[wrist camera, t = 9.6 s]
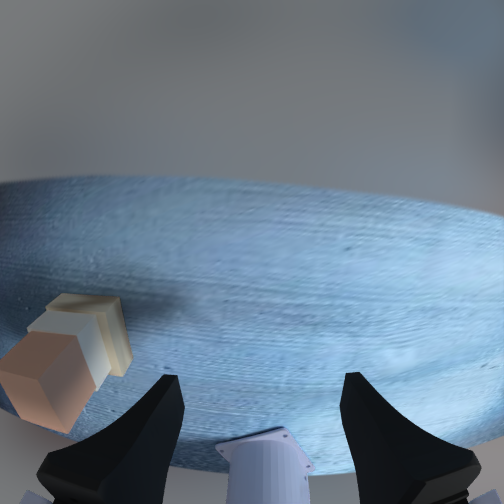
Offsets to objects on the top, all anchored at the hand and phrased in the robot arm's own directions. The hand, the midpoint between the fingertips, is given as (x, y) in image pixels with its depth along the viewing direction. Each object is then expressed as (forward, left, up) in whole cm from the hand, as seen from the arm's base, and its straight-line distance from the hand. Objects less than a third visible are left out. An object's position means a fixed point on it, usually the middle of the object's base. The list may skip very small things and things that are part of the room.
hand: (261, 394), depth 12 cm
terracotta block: (+3, +14, -5) cm, 15 cm away
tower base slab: (+3, +14, -11) cm, 18 cm away
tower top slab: (+3, +15, -8) cm, 17 cm away
